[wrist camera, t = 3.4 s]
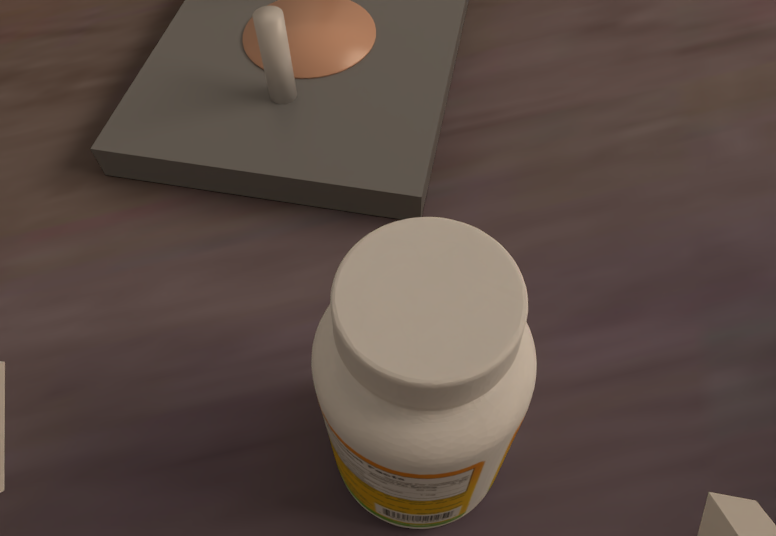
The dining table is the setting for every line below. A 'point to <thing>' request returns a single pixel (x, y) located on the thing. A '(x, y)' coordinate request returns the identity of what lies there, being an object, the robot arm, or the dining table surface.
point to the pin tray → (293, 102)
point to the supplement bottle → (424, 368)
